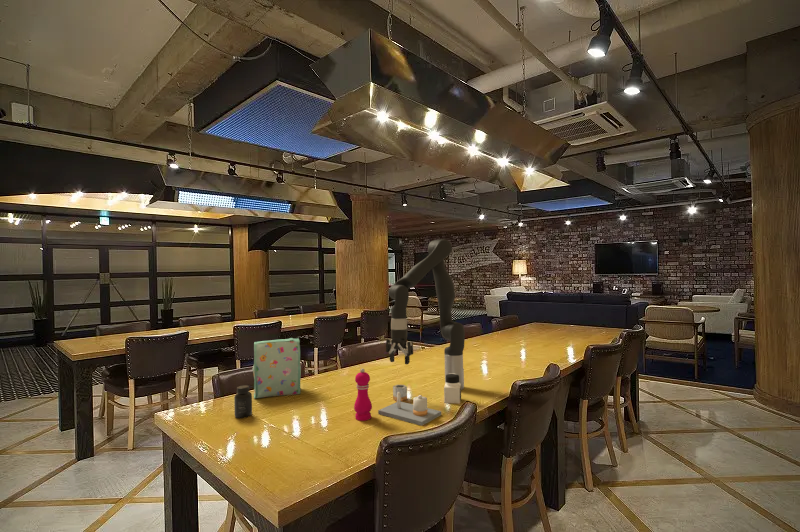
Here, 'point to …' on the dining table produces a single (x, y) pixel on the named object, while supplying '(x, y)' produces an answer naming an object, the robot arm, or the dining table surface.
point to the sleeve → (402, 390)
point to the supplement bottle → (243, 402)
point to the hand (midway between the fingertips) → (399, 363)
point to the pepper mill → (362, 397)
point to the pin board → (411, 411)
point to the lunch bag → (276, 368)
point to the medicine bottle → (452, 389)
